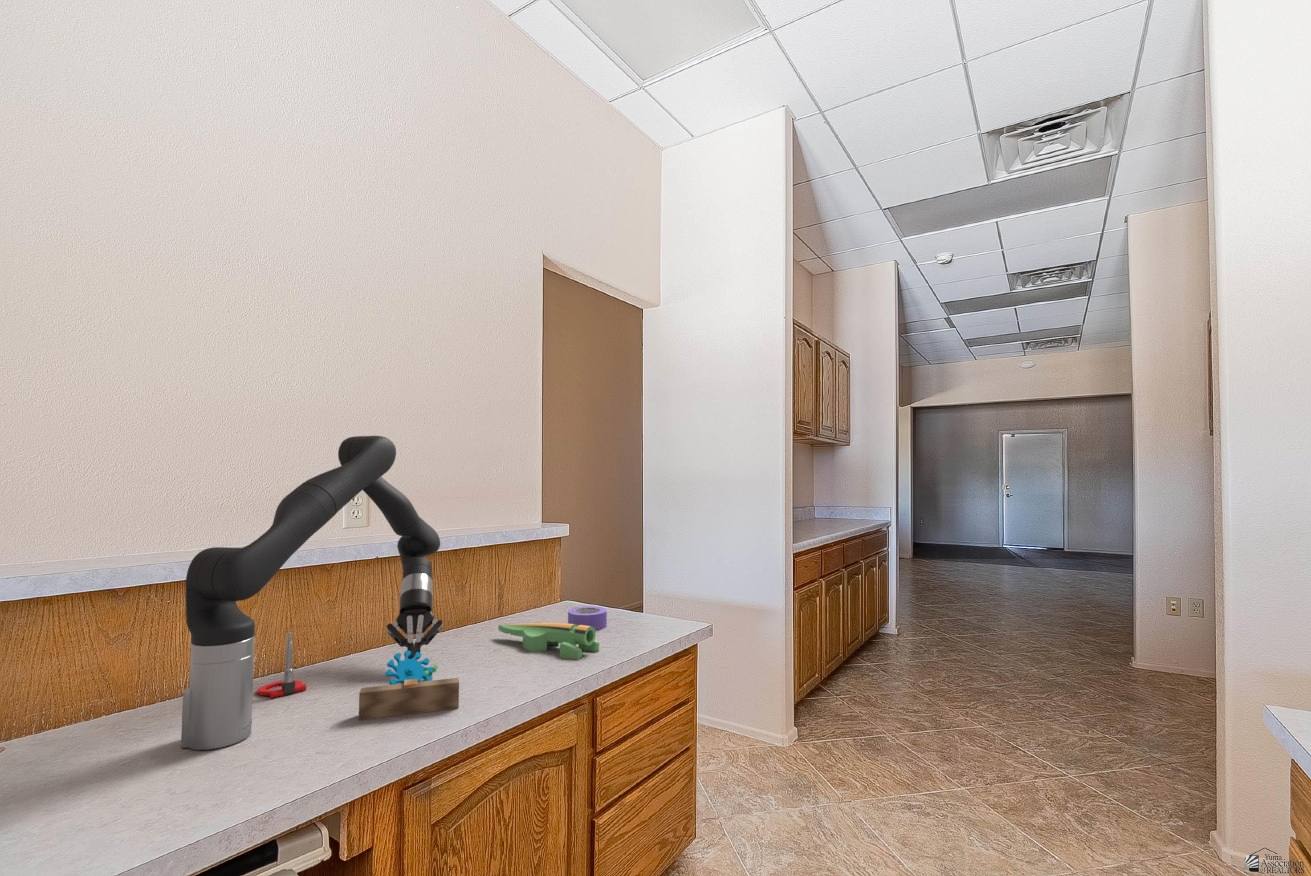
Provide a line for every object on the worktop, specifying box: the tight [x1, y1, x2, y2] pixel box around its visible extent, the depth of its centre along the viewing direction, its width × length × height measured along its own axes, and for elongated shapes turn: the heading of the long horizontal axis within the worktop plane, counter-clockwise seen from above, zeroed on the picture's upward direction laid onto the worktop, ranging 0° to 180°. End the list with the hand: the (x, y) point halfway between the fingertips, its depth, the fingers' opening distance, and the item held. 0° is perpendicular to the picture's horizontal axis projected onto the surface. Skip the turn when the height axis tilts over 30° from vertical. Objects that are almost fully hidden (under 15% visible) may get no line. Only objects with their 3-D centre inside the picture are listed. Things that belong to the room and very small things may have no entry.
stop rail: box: [358, 677, 460, 721], centre depth 121 cm, size 18×3×6 cm, turn 109°
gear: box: [384, 649, 439, 685], centre depth 135 cm, size 11×6×10 cm
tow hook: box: [256, 631, 307, 699], centre depth 133 cm, size 8×13×9 cm
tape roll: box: [567, 605, 608, 632], centre depth 188 cm, size 12×12×5 cm
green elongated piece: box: [497, 622, 600, 660], centre depth 167 cm, size 32×10×7 cm, turn 60°
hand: (413, 660), depth 141 cm, fingers closed
